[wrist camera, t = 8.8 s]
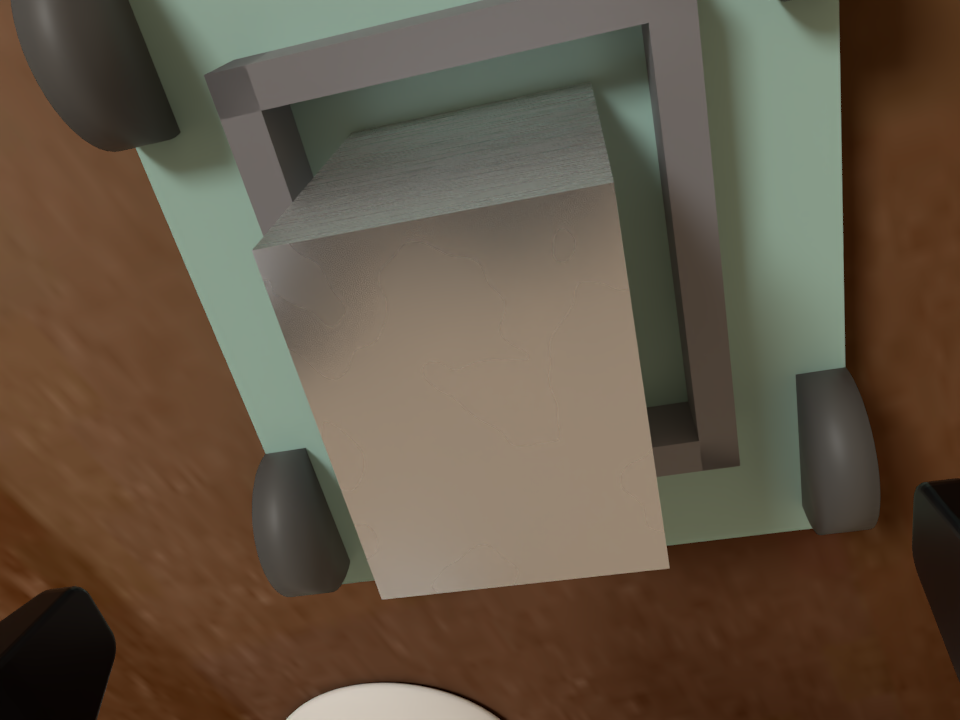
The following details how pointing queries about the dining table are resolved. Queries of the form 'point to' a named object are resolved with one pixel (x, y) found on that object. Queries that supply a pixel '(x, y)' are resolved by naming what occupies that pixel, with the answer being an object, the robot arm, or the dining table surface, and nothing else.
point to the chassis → (639, 194)
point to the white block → (473, 347)
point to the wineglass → (390, 704)
